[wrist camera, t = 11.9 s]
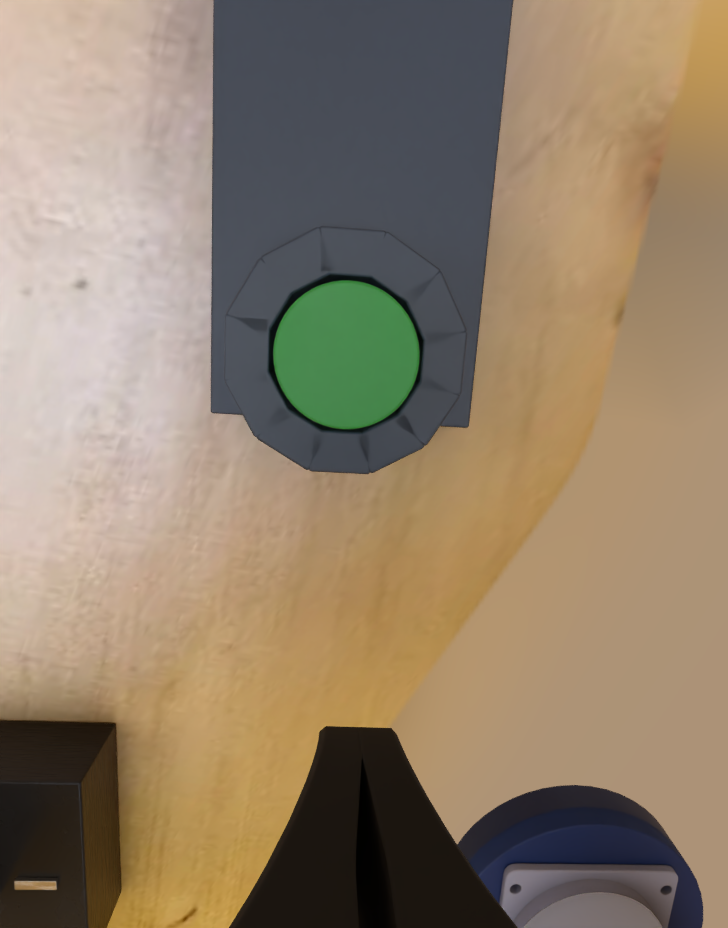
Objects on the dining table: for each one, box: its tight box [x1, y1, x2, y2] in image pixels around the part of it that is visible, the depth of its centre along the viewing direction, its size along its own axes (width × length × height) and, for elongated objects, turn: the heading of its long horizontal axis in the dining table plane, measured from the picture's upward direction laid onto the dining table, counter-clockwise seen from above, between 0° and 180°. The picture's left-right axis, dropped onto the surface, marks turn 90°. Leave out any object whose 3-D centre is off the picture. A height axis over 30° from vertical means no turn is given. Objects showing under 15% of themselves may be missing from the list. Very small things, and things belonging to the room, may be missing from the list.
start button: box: [273, 280, 420, 429], centre depth 14 cm, size 4×4×2 cm
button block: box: [211, 0, 513, 474], centre depth 16 cm, size 18×8×4 cm, turn 176°
